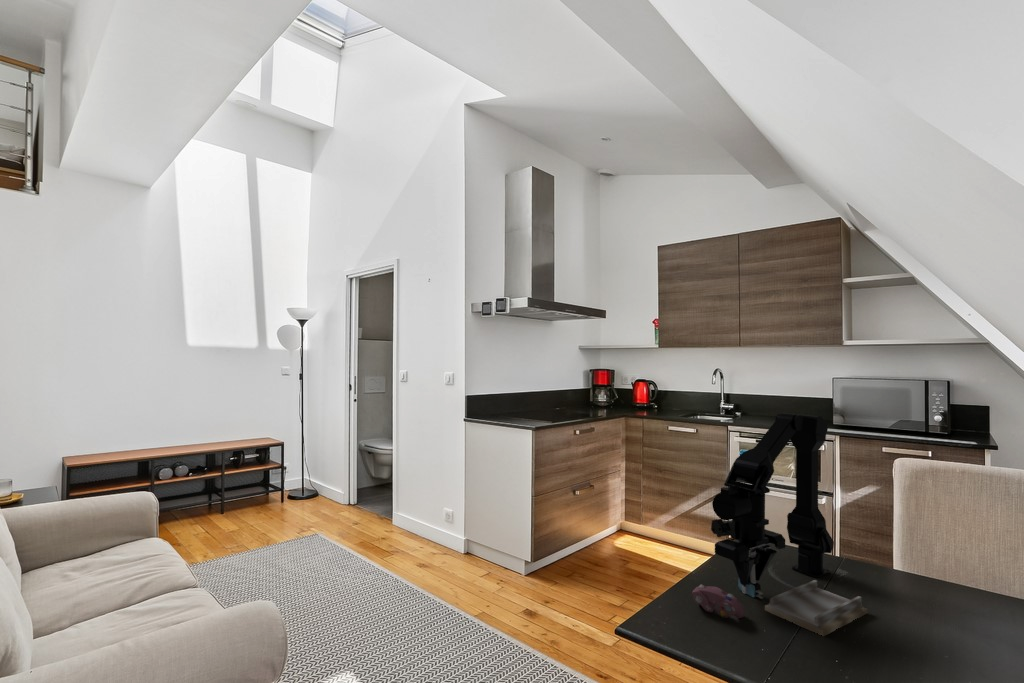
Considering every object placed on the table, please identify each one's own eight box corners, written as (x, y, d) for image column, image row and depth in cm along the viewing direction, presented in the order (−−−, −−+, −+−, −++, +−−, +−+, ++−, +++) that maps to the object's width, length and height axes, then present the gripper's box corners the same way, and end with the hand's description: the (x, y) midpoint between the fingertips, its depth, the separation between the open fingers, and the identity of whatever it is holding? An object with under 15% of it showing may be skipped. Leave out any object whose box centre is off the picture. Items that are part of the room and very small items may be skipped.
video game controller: (693, 614, 112) (687, 589, 110) (700, 598, 115) (695, 573, 113) (740, 631, 106) (735, 605, 104) (747, 613, 109) (742, 588, 107)
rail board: (809, 591, 121) (809, 578, 121) (867, 613, 111) (867, 599, 111) (764, 610, 111) (764, 596, 112) (823, 636, 101) (823, 620, 101)
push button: (771, 598, 117) (769, 554, 116) (752, 603, 115) (750, 558, 115) (749, 584, 123) (747, 542, 123) (731, 589, 121) (729, 547, 121)
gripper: (743, 499, 131) (742, 562, 131) (695, 509, 121) (693, 577, 120) (786, 511, 122) (786, 578, 121) (738, 523, 112) (737, 597, 111)
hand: (750, 582), depth 119 cm, fingers closed on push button, 5 cm apart
